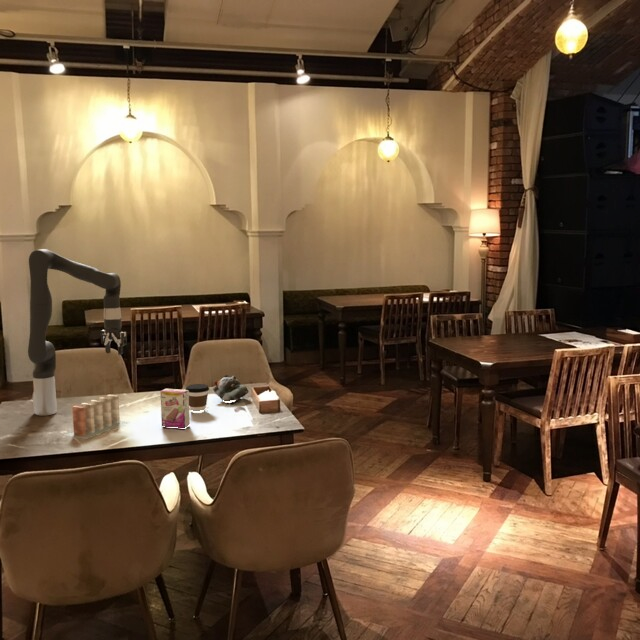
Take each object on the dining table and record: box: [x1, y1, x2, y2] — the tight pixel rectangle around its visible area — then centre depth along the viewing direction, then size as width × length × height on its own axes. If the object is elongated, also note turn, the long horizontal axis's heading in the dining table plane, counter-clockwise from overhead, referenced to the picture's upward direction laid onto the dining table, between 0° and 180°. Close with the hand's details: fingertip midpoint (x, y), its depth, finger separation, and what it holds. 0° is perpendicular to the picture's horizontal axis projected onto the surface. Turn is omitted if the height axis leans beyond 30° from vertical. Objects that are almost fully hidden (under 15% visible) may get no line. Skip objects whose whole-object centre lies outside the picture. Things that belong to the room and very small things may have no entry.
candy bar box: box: [160, 388, 191, 428], centre depth 301 cm, size 11×5×16 cm, turn 74°
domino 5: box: [106, 394, 121, 423], centre depth 307 cm, size 5×2×12 cm, turn 63°
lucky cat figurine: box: [212, 374, 250, 401], centre depth 344 cm, size 15×12×14 cm
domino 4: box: [98, 396, 112, 426], centre depth 303 cm, size 5×2×12 cm, turn 63°
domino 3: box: [89, 399, 103, 430], centre depth 298 cm, size 5×2×12 cm, turn 63°
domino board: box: [63, 420, 130, 440], centre depth 299 cm, size 12×26×1 cm, turn 153°
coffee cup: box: [184, 383, 210, 411], centre depth 325 cm, size 11×11×12 cm
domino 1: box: [71, 405, 86, 436], centre depth 289 cm, size 5×2×12 cm, turn 63°
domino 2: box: [80, 402, 95, 433], centre depth 294 cm, size 5×2×12 cm, turn 64°
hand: (114, 353), depth 320 cm, fingers open, 6 cm apart
